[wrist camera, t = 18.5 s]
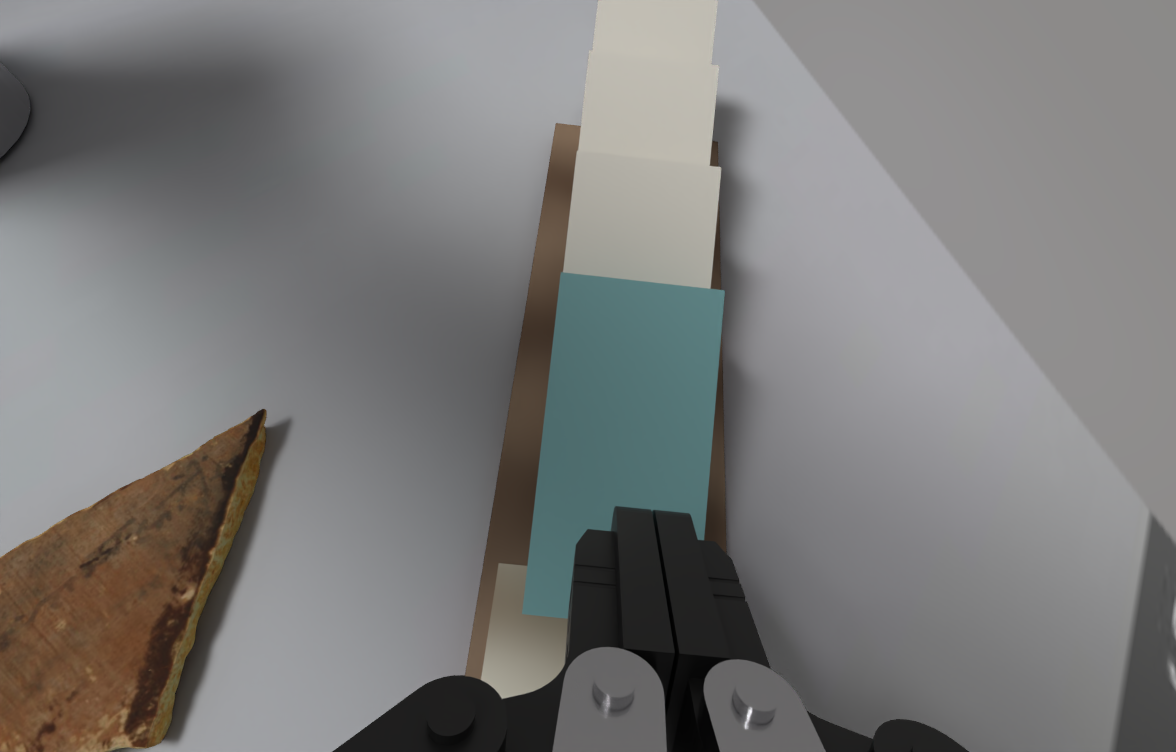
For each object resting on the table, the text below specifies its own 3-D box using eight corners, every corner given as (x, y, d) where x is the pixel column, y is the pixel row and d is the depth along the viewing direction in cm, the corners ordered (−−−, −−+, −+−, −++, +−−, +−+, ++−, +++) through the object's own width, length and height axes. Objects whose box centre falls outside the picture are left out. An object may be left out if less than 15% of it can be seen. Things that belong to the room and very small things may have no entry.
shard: (283, 421, 20) (259, 403, 19) (379, 596, 18) (362, 593, 16) (-44, 607, 17) (-107, 605, 16) (21, 849, 15) (-45, 876, 13)
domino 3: (695, 459, 18) (721, 167, 19) (543, 442, 18) (576, 150, 18) (683, 455, 20) (708, 189, 20) (546, 440, 19) (576, 174, 20)
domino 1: (695, 215, 22) (719, -15, 23) (574, 201, 22) (601, -29, 23) (686, 230, 24) (708, 16, 25) (574, 217, 24) (599, 3, 24)
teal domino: (696, 631, 15) (724, 290, 16) (521, 613, 15) (560, 272, 16) (683, 610, 17) (709, 303, 18) (527, 594, 17) (562, 287, 18)
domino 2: (694, 322, 20) (719, 65, 21) (560, 307, 20) (589, 50, 21) (685, 330, 22) (707, 93, 22) (561, 316, 22) (588, 79, 22)
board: (723, 745, 16) (731, 751, 16) (460, 720, 16) (456, 725, 16) (713, 154, 27) (718, 140, 26) (555, 136, 27) (555, 121, 26)
